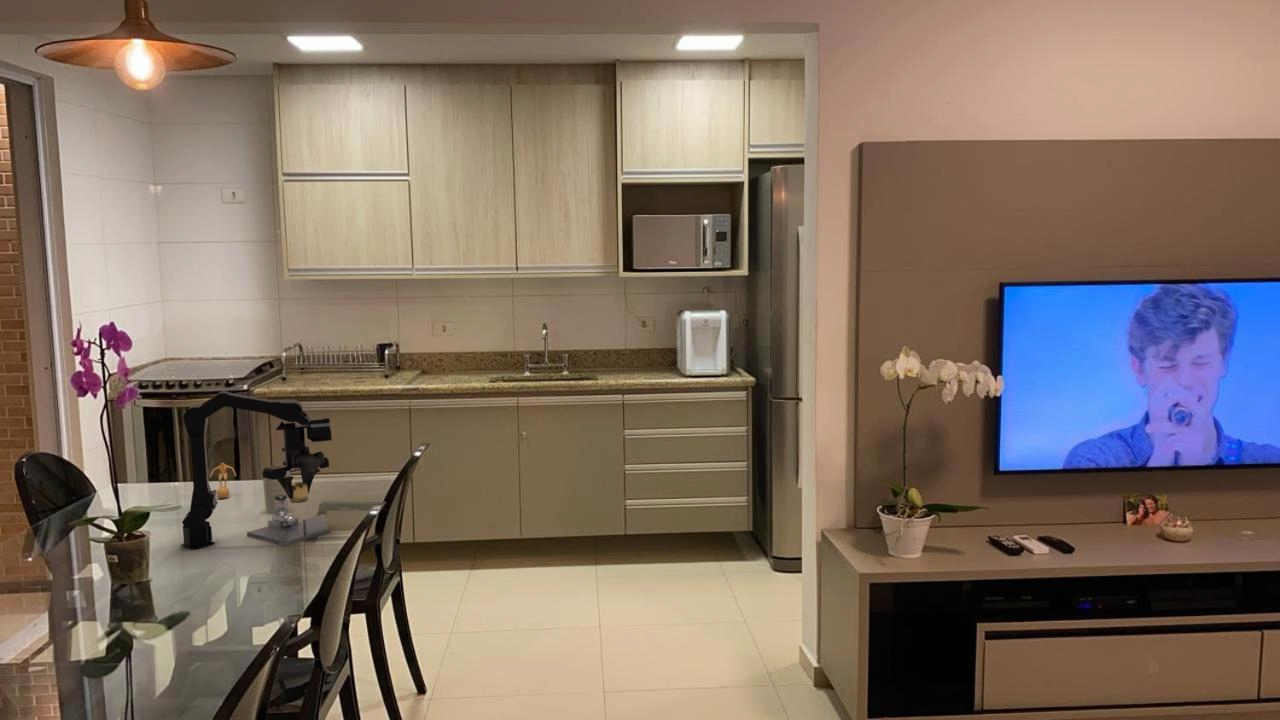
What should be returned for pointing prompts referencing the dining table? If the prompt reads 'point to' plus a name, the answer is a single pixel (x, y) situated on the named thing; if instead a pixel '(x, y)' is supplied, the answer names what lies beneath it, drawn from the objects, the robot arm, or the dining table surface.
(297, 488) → the cylinder
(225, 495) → the figurine
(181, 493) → the dining table surface
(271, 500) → the skincare box
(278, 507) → the ram
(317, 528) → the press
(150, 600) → the dining table surface
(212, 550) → the dining table surface
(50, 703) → the dining table surface
